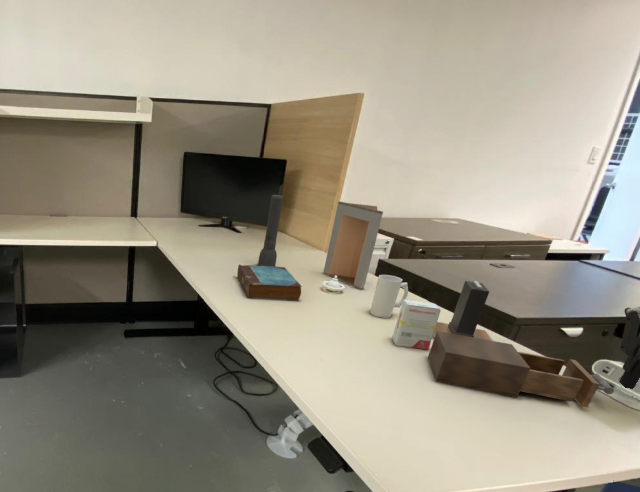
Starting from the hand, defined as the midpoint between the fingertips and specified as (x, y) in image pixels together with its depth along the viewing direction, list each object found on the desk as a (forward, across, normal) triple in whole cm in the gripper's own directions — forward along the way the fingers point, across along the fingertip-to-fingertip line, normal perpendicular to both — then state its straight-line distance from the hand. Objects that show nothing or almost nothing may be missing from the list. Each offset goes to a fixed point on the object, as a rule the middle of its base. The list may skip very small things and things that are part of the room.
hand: (625, 385), depth 102 cm
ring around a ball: (+6, +63, -53) cm, 83 cm away
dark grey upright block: (+5, +26, -29) cm, 39 cm away
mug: (+6, +46, -36) cm, 59 cm away
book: (+6, +85, -42) cm, 95 cm away
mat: (+6, +26, -29) cm, 39 cm away
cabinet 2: (+6, +29, 0) cm, 30 cm away
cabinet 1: (+6, +57, -71) cm, 91 cm away
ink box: (+6, +41, -14) cm, 44 cm away
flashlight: (+7, +90, -72) cm, 116 cm away
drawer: (+4, +13, 0) cm, 14 cm away
